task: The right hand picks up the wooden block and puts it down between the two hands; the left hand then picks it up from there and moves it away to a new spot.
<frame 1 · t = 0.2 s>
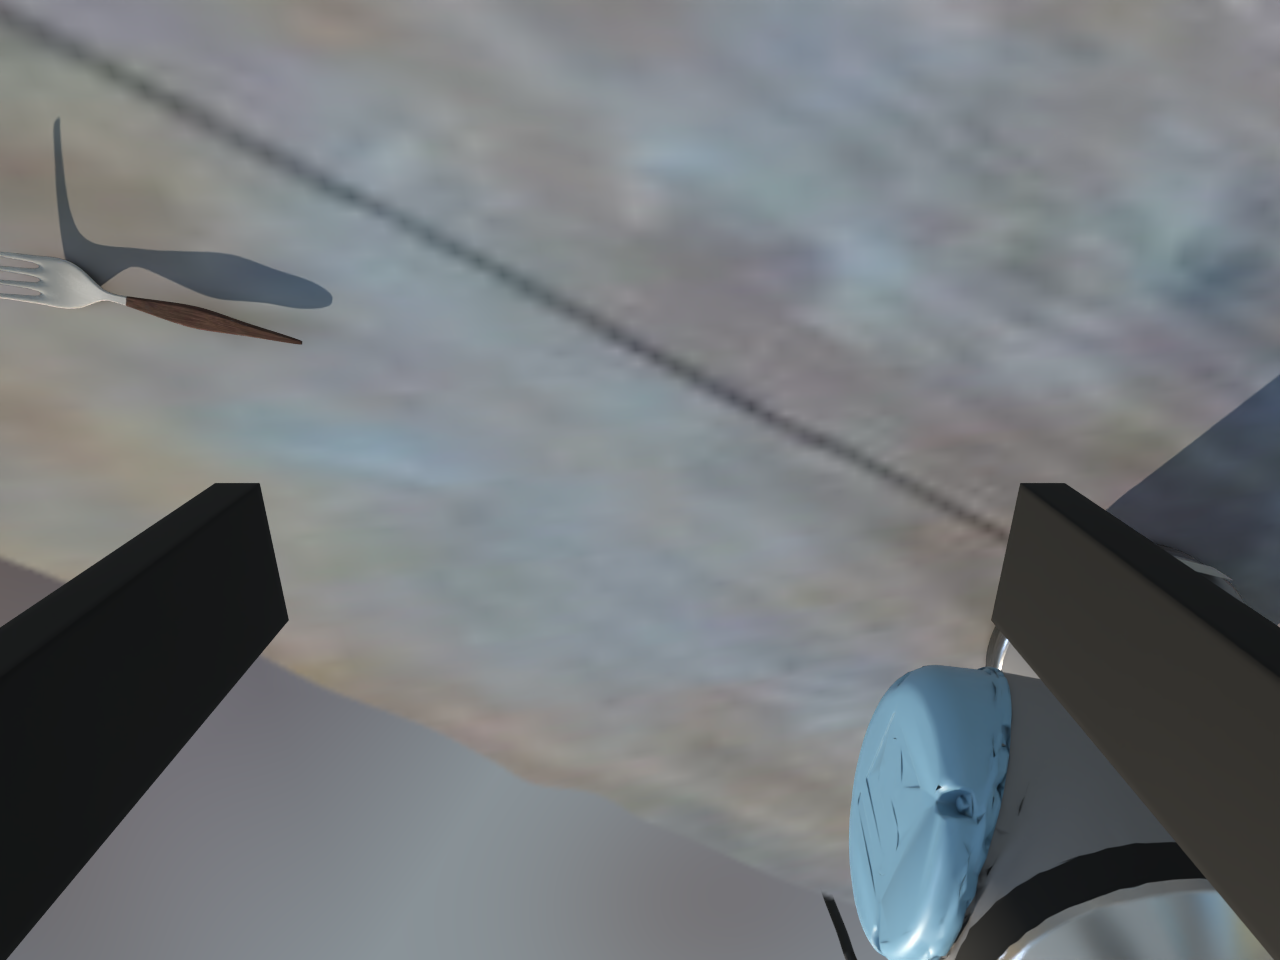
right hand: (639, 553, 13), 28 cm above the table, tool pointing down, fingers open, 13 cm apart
fork: (157, 304, 38), on the table
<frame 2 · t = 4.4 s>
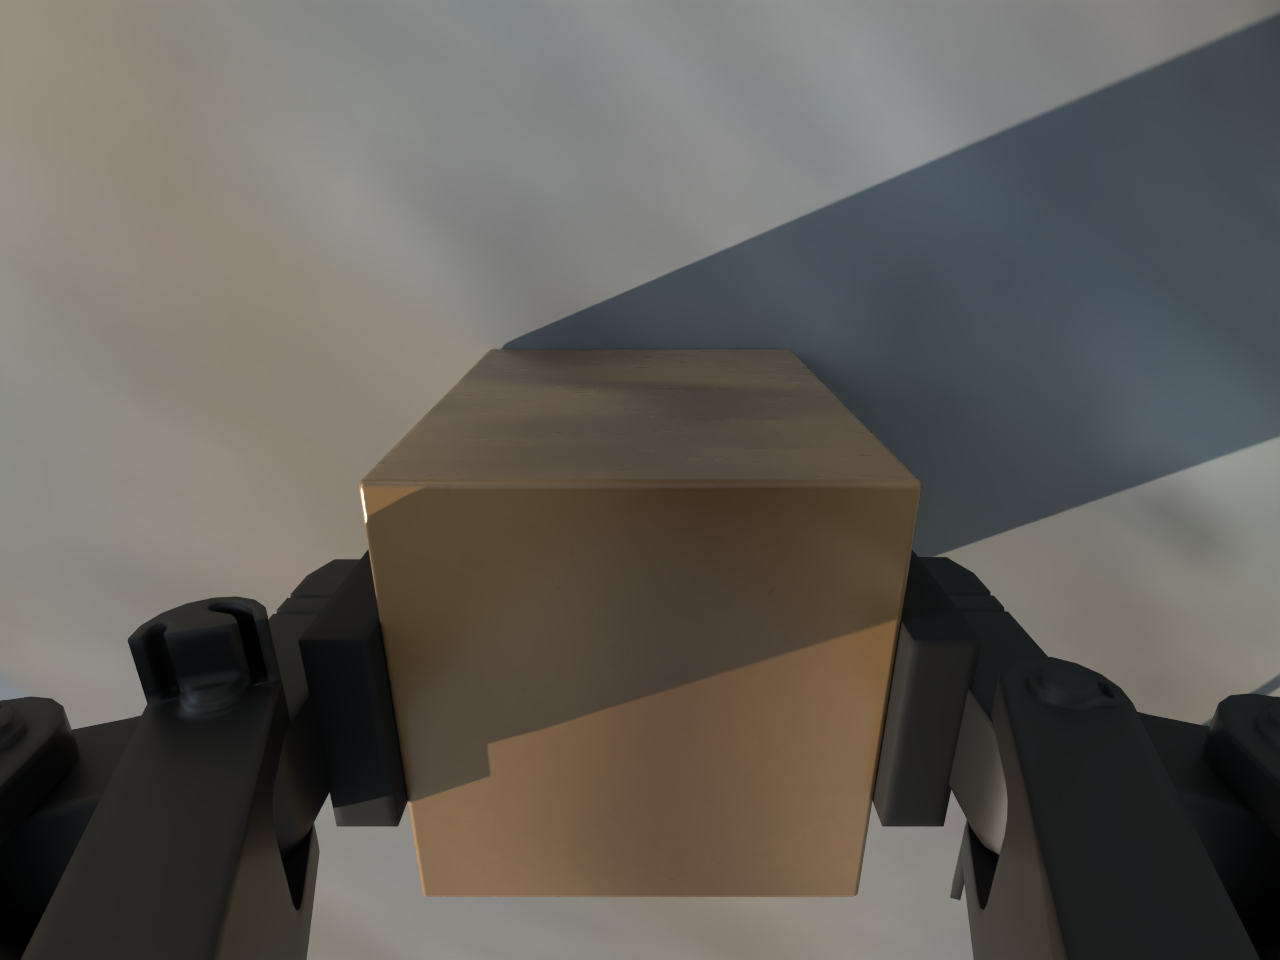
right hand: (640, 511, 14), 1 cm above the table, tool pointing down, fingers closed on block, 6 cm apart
block: (640, 492, 15), on the table, touching right hand
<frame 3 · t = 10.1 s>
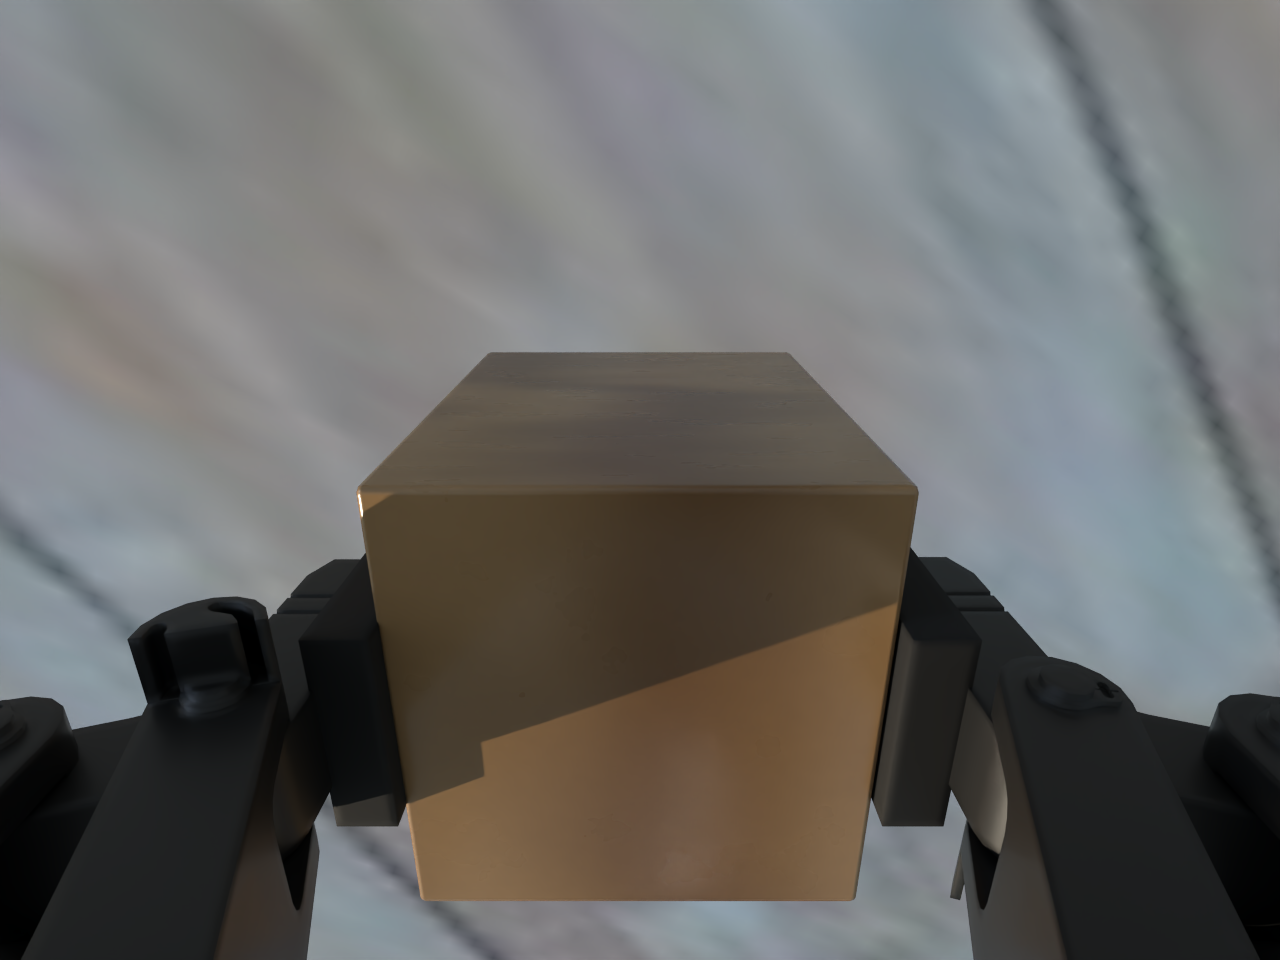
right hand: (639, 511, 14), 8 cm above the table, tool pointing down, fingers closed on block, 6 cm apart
block: (638, 494, 15), point 7 cm above the table, touching right hand
when the right hand's fingers open (3 cm above the table, at t = 15.6 s): block drops 2 cm, on the table.
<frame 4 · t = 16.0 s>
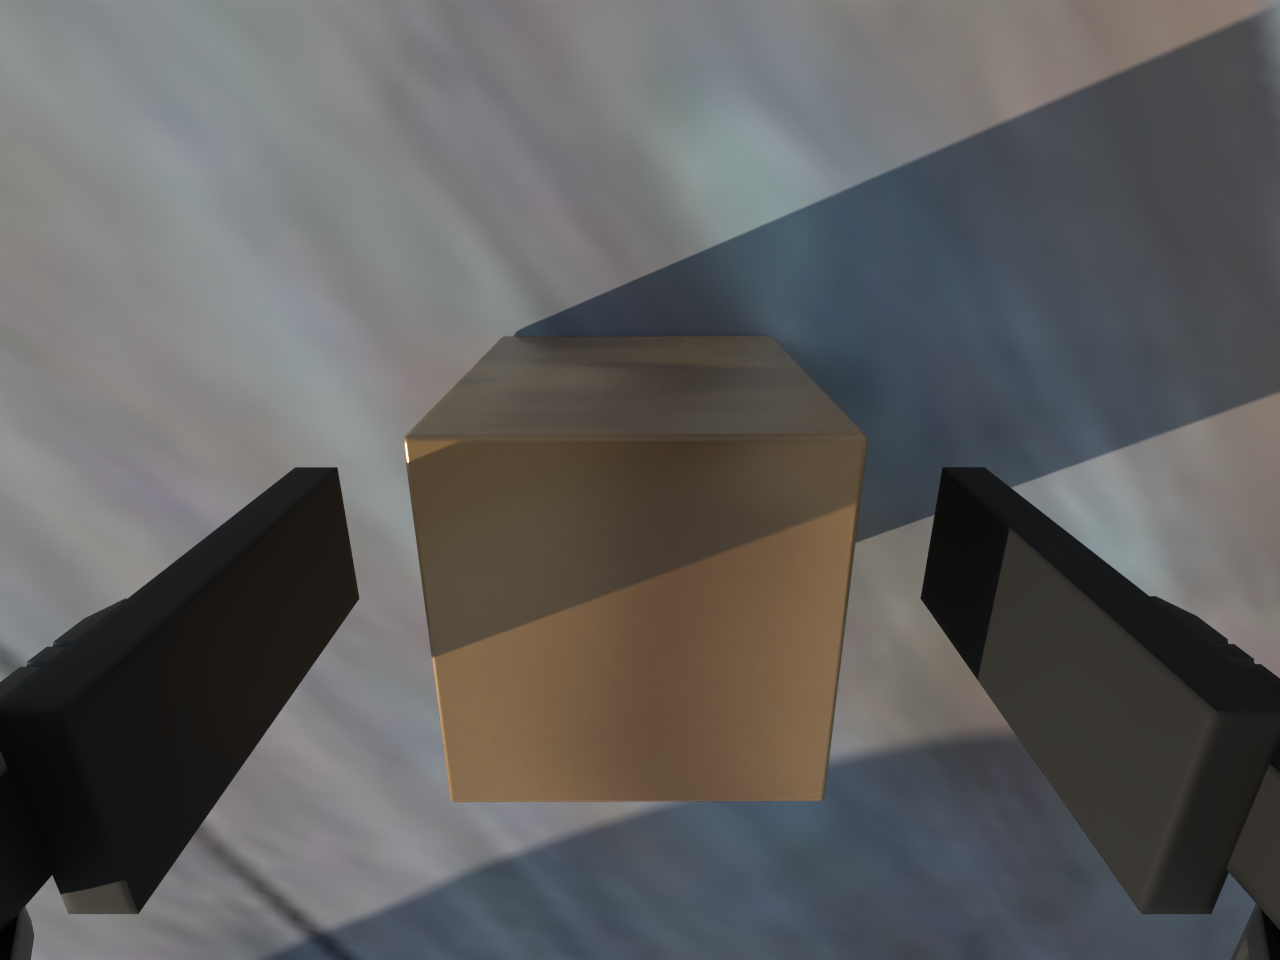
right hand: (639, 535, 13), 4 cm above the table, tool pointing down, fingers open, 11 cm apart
block: (637, 466, 17), on the table
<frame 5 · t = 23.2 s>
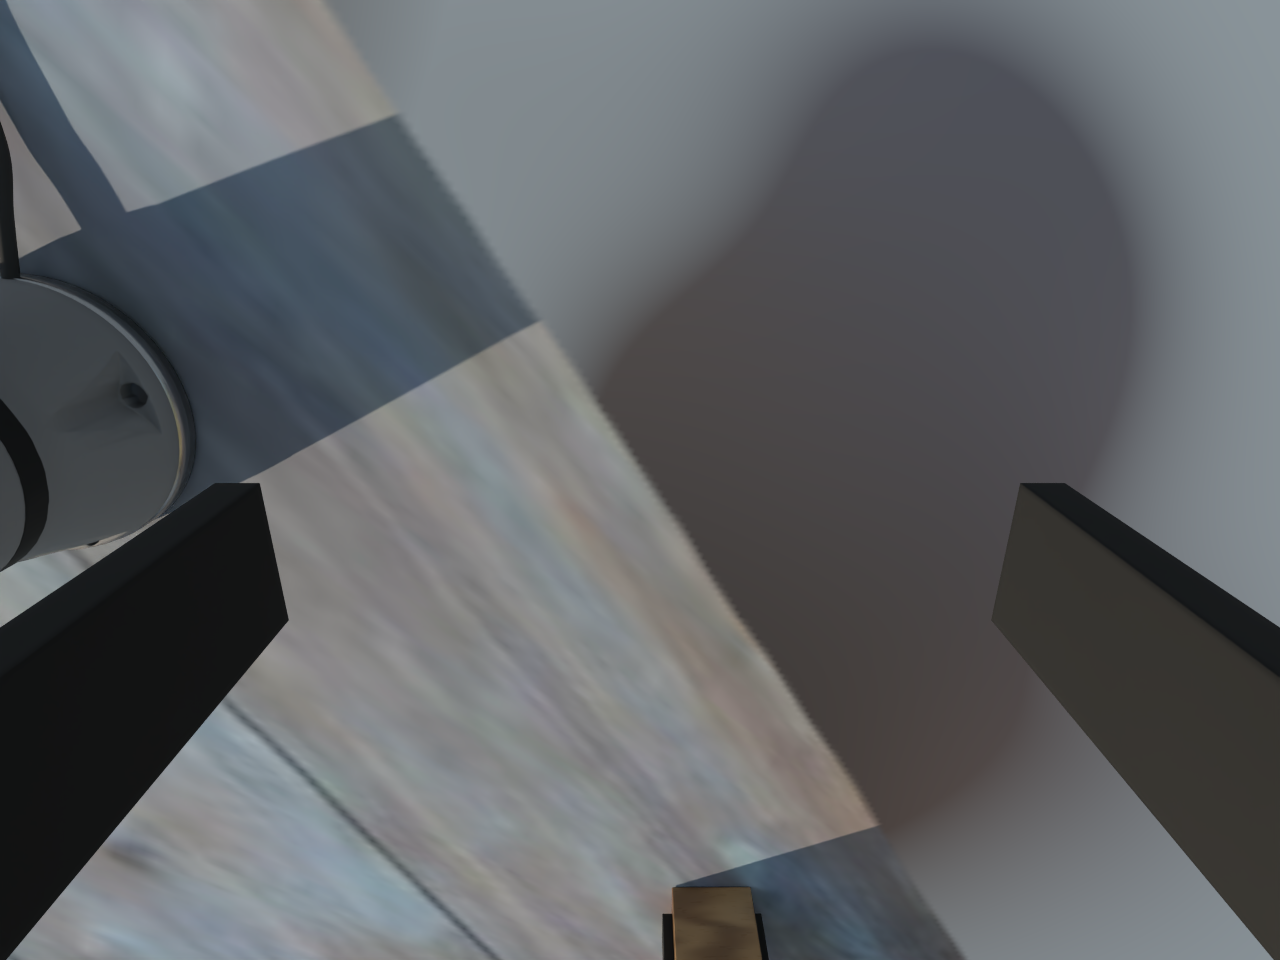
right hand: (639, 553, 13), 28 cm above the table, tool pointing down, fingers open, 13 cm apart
block: (709, 915, 55), on the table, touching left hand
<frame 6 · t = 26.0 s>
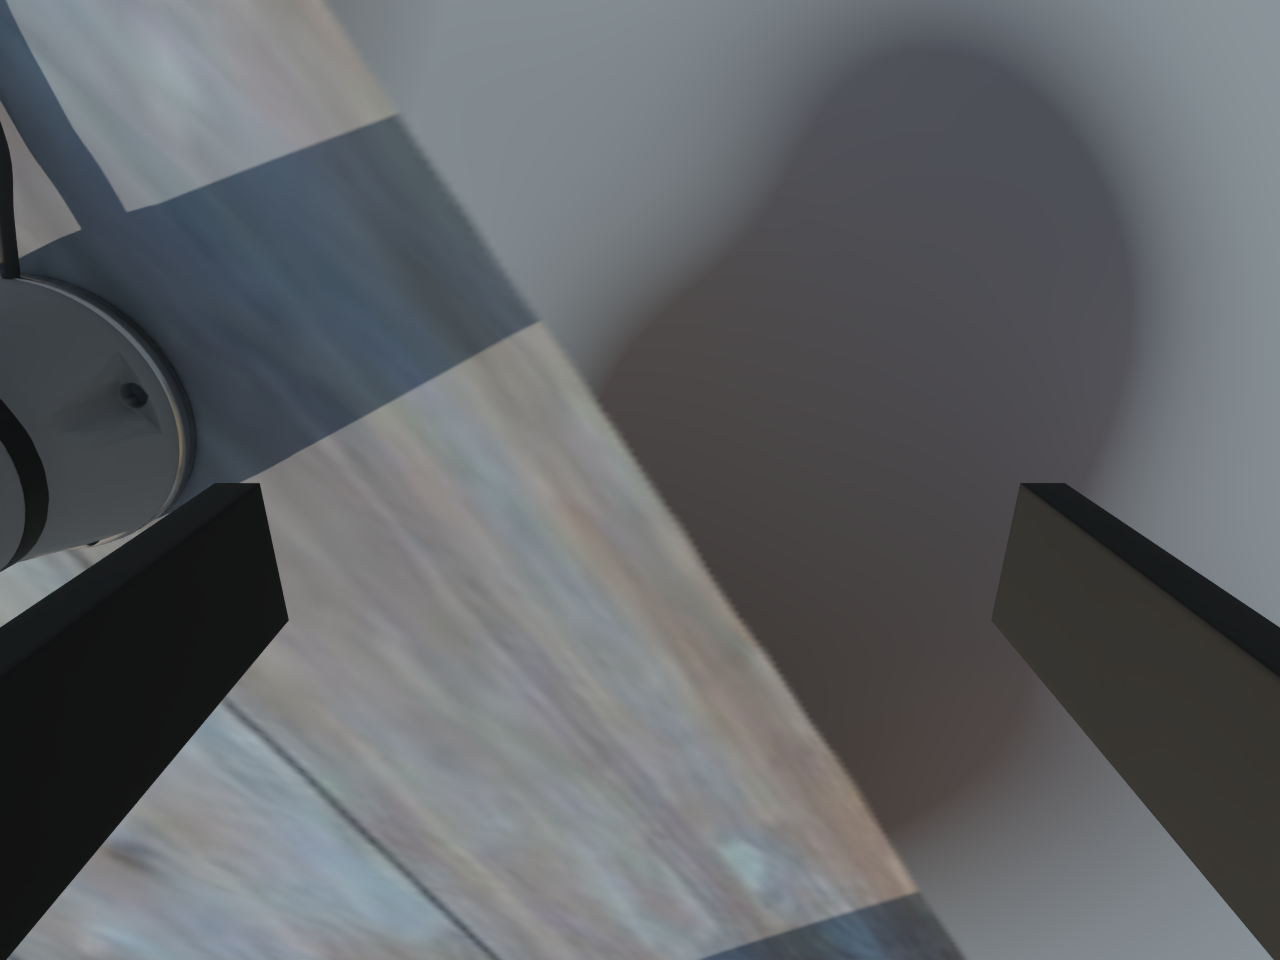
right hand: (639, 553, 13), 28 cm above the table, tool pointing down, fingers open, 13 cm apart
when the left hand's fingers open (3 cm above the table, at t = 28.9 s): block drops 2 cm, on the table.
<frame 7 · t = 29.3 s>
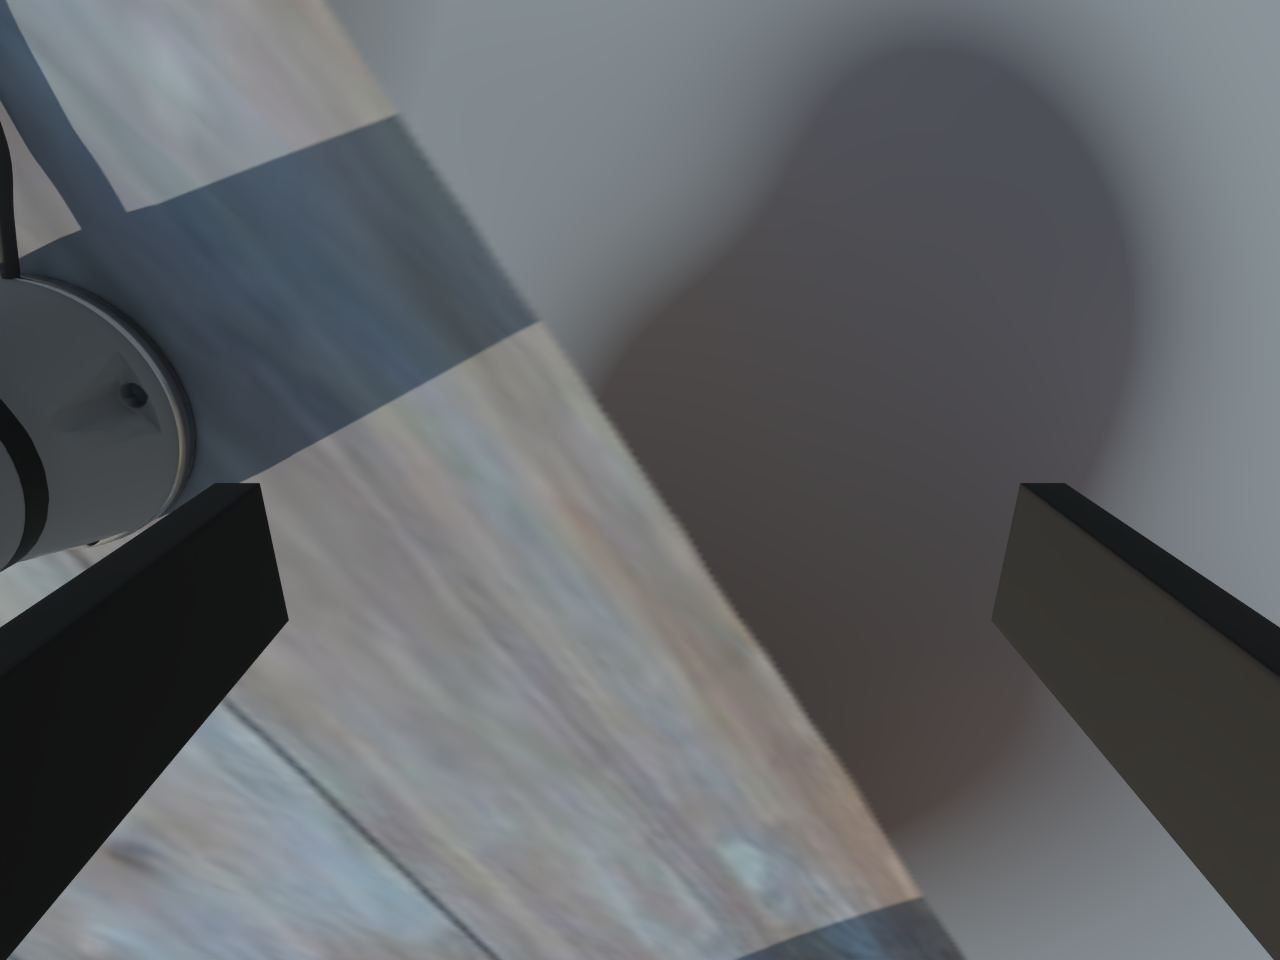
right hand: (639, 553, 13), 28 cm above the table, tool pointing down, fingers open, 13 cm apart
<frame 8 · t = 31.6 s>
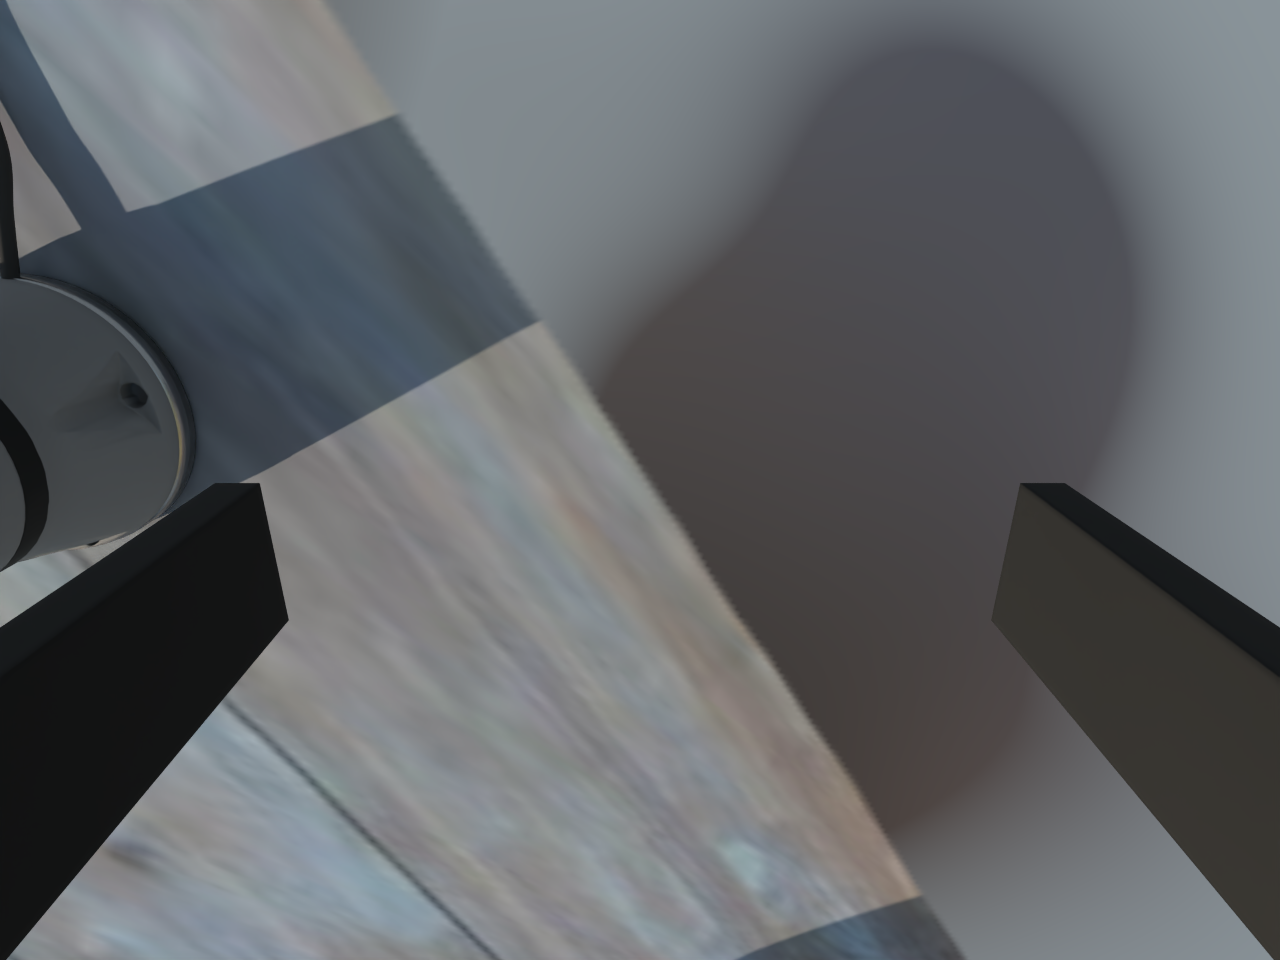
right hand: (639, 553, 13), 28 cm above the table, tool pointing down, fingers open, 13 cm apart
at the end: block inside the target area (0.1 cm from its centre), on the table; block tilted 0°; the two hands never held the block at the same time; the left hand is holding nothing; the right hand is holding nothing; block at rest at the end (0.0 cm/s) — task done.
